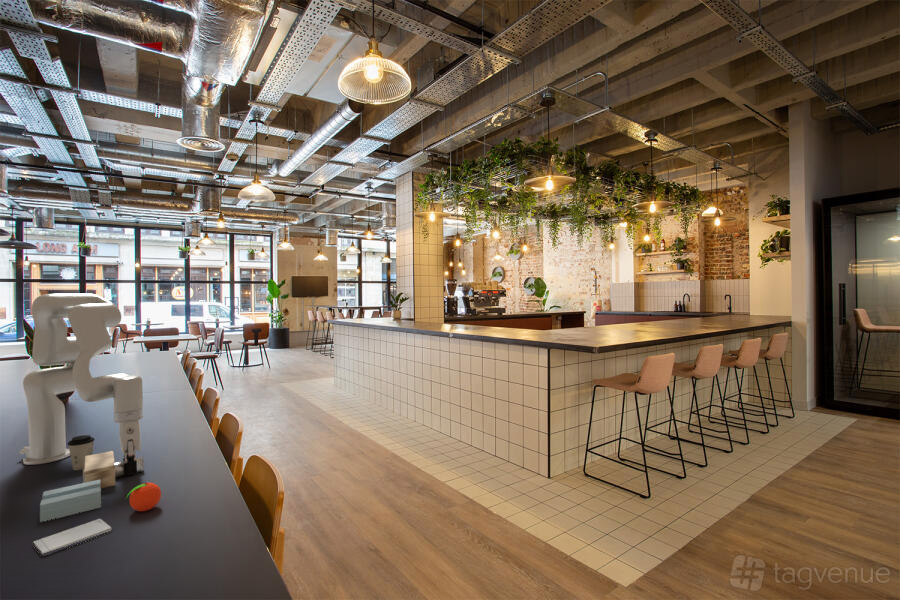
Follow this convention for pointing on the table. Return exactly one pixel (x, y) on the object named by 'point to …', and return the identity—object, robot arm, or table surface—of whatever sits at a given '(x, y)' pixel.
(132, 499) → the clementine
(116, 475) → the axle
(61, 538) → the hard drive
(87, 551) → the table surface
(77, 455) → the coffee cup
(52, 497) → the v block
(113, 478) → the beam
